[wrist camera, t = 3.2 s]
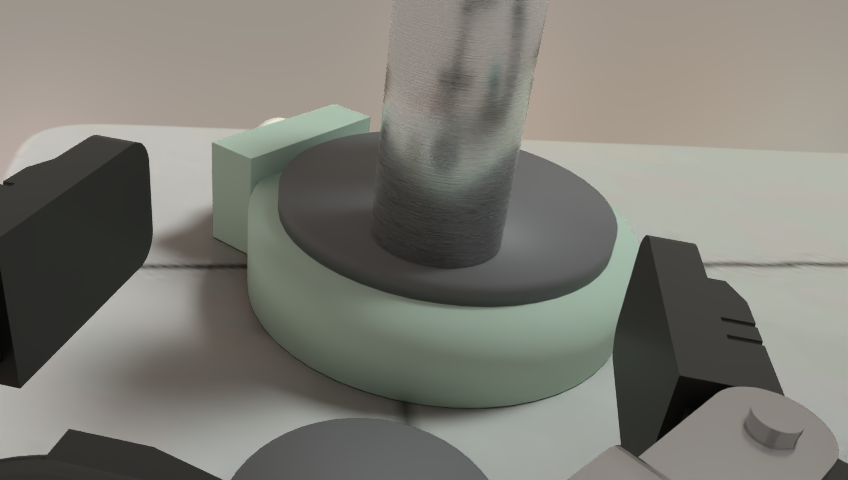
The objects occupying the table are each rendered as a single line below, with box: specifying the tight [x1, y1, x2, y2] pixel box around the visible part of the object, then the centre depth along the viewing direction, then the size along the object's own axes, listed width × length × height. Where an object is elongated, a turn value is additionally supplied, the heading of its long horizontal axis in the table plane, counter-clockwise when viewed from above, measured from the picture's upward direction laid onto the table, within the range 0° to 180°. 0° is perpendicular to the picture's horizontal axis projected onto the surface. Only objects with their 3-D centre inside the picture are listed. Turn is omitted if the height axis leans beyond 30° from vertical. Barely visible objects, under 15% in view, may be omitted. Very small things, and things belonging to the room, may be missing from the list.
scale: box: [212, 104, 639, 408], centre depth 29 cm, size 16×14×4 cm
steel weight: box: [370, 0, 549, 269], centre depth 22 cm, size 4×4×10 cm
